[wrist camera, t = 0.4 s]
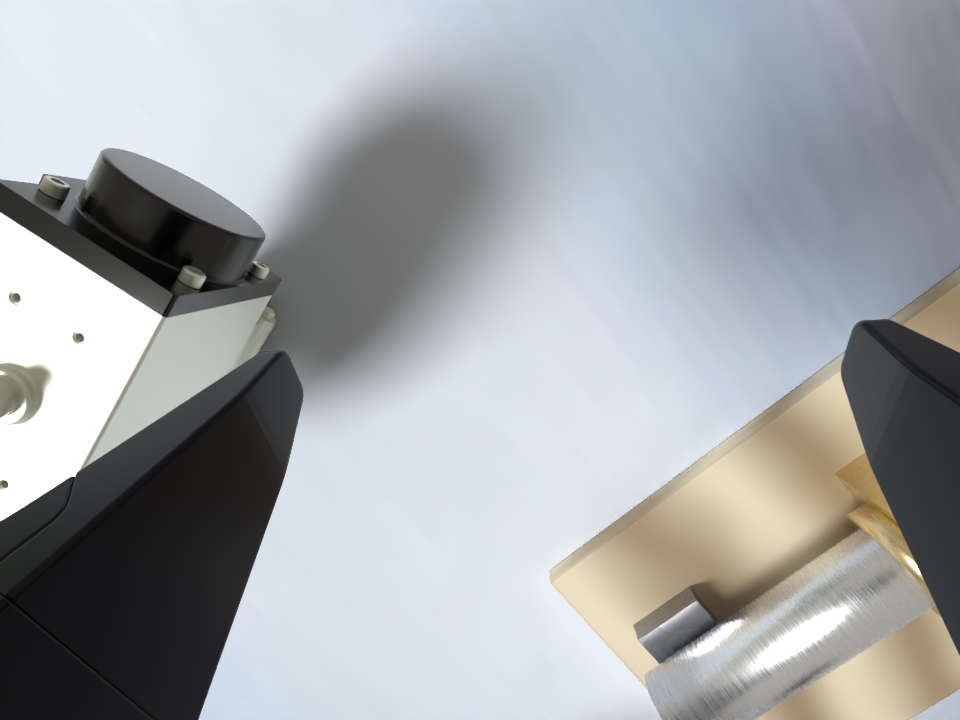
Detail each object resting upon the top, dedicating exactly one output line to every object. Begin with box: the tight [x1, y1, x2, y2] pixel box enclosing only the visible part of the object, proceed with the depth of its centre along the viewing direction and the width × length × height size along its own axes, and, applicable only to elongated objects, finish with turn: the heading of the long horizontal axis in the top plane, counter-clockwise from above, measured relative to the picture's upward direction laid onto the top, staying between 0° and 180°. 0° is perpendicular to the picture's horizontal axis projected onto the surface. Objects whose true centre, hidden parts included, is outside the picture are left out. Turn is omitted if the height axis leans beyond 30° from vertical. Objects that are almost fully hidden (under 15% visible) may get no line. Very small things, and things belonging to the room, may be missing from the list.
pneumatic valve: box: [0, 148, 281, 521], centre depth 19 cm, size 6×12×12 cm, turn 146°
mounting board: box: [549, 267, 960, 720], centre depth 24 cm, size 22×15×1 cm
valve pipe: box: [633, 453, 940, 720], centre depth 21 cm, size 20×5×6 cm, turn 131°
